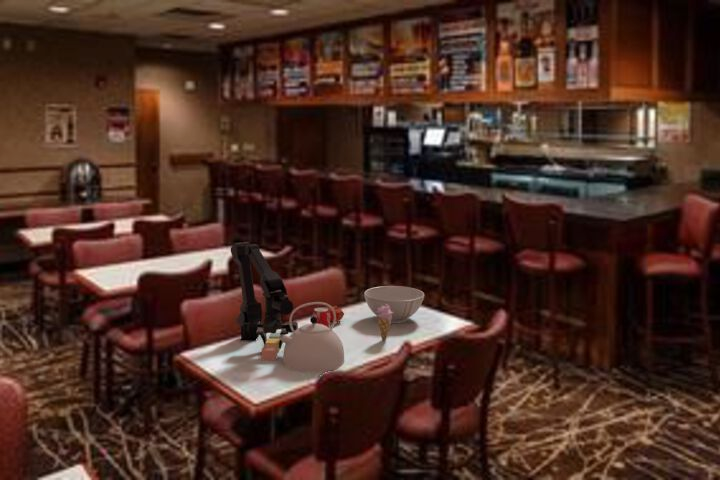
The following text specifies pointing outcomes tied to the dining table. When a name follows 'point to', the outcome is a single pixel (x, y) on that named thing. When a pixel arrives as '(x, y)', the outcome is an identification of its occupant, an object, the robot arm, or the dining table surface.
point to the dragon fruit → (338, 314)
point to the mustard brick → (273, 343)
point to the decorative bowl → (395, 301)
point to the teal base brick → (274, 336)
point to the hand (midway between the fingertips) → (273, 348)
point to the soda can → (322, 316)
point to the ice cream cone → (384, 320)
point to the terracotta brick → (269, 353)
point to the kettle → (312, 346)
